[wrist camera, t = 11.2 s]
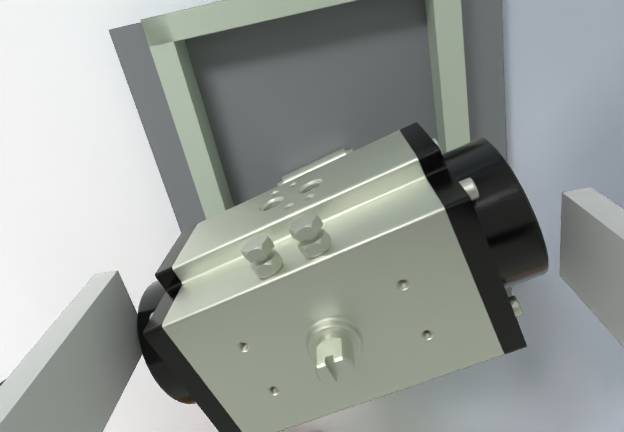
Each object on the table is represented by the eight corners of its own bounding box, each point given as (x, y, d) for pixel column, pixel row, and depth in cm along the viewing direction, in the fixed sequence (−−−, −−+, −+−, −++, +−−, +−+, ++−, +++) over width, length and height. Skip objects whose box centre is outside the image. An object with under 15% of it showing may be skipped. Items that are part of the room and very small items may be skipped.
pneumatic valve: (462, 181, 21) (611, 360, 10) (246, 273, 24) (181, 499, 13) (420, 71, 19) (548, 147, 8) (189, 184, 22) (53, 359, 11)
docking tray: (118, 29, 20) (91, 31, 18) (490, -58, 18) (514, -68, 16) (226, 335, 27) (216, 366, 24) (504, 292, 25) (522, 320, 23)
